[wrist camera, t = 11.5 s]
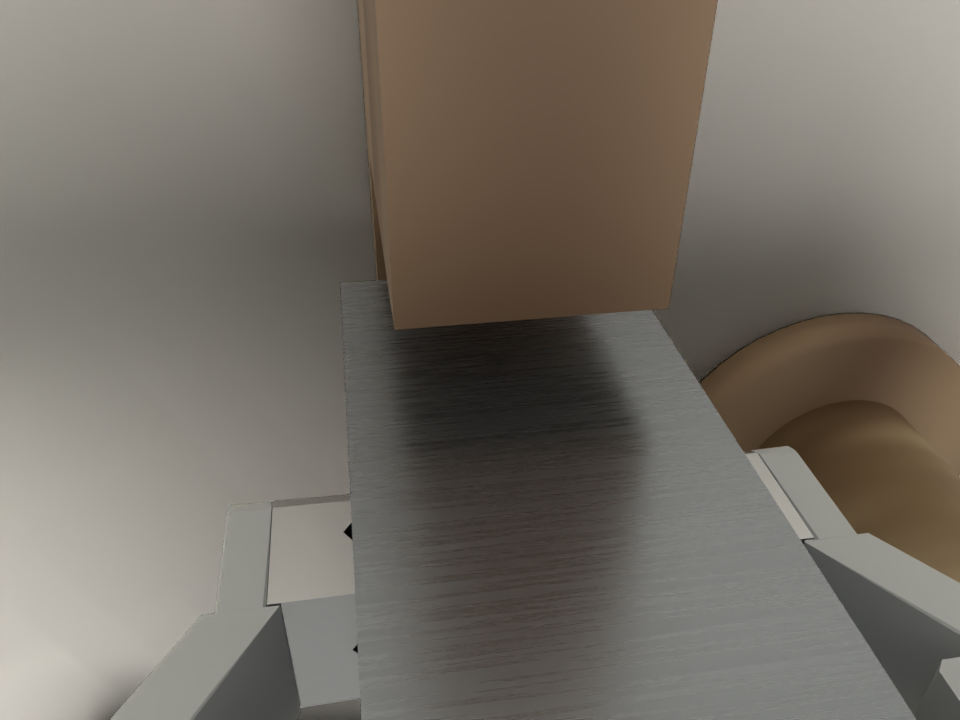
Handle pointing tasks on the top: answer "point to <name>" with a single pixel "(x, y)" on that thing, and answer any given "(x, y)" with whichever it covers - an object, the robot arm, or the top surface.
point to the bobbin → (858, 423)
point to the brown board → (529, 153)
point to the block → (574, 535)
